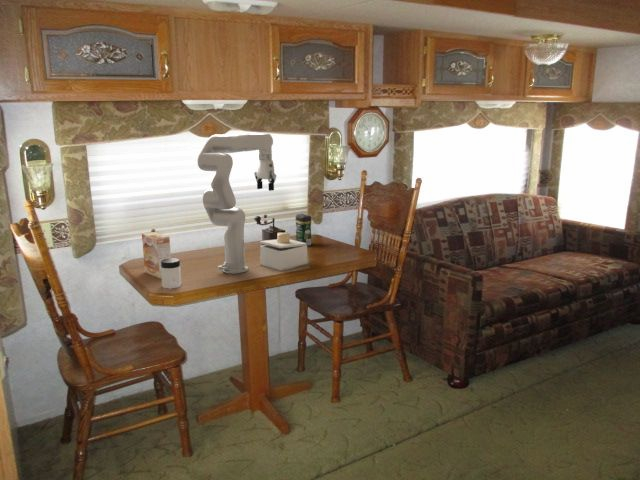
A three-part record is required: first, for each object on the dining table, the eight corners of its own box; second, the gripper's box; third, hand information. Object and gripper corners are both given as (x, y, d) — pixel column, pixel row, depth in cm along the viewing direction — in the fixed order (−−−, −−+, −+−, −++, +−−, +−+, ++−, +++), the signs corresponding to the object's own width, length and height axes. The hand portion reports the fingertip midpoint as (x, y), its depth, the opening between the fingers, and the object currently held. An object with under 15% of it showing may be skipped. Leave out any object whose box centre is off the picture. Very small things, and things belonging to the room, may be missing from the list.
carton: (280, 271, 266) (280, 251, 263) (260, 264, 277) (259, 246, 275) (307, 264, 278) (307, 245, 276) (286, 258, 289) (286, 240, 287)
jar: (165, 290, 238) (163, 264, 235) (159, 285, 244) (157, 260, 242) (184, 286, 243) (183, 260, 240) (178, 282, 249) (176, 257, 247)
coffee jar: (293, 244, 320) (293, 213, 316) (304, 242, 325) (304, 212, 321) (302, 247, 313) (302, 216, 308) (313, 245, 317) (313, 214, 313)
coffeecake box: (144, 272, 265) (141, 233, 261) (157, 269, 270) (154, 231, 265) (159, 278, 255) (156, 238, 250) (172, 275, 260) (170, 236, 255)
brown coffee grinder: (276, 242, 326) (275, 213, 322) (286, 245, 318) (285, 215, 314) (253, 246, 317) (252, 216, 313) (263, 249, 309) (262, 218, 305)
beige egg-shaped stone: (282, 243, 270) (283, 234, 270) (274, 241, 275) (274, 233, 274) (292, 242, 275) (292, 234, 274) (284, 240, 279) (284, 232, 278)
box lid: (280, 248, 263) (280, 245, 263) (260, 243, 274) (260, 240, 274) (307, 245, 276) (308, 243, 276) (287, 240, 287) (287, 238, 287)
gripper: (280, 157, 281) (281, 190, 284) (260, 156, 293) (261, 187, 296) (269, 158, 275) (270, 191, 279) (249, 156, 287) (250, 188, 291)
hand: (265, 189), depth 288 cm, fingers open, 9 cm apart
